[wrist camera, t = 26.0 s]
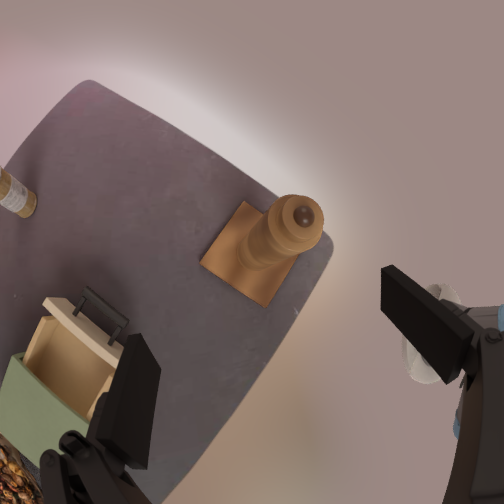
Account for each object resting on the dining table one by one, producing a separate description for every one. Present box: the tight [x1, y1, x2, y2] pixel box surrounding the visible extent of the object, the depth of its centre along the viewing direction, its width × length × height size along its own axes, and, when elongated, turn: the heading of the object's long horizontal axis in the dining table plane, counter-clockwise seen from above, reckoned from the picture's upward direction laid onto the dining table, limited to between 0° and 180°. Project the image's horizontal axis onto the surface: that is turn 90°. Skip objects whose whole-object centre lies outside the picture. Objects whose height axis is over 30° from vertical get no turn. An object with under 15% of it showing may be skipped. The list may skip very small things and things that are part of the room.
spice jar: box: [0, 166, 37, 218], centre depth 26 cm, size 5×5×14 cm
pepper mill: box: [237, 195, 324, 271], centre depth 29 cm, size 5×5×18 cm
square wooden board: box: [199, 201, 300, 308], centre depth 38 cm, size 11×11×1 cm
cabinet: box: [0, 352, 90, 468], centre depth 24 cm, size 16×15×8 cm
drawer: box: [22, 286, 129, 422], centre depth 28 cm, size 19×13×6 cm
